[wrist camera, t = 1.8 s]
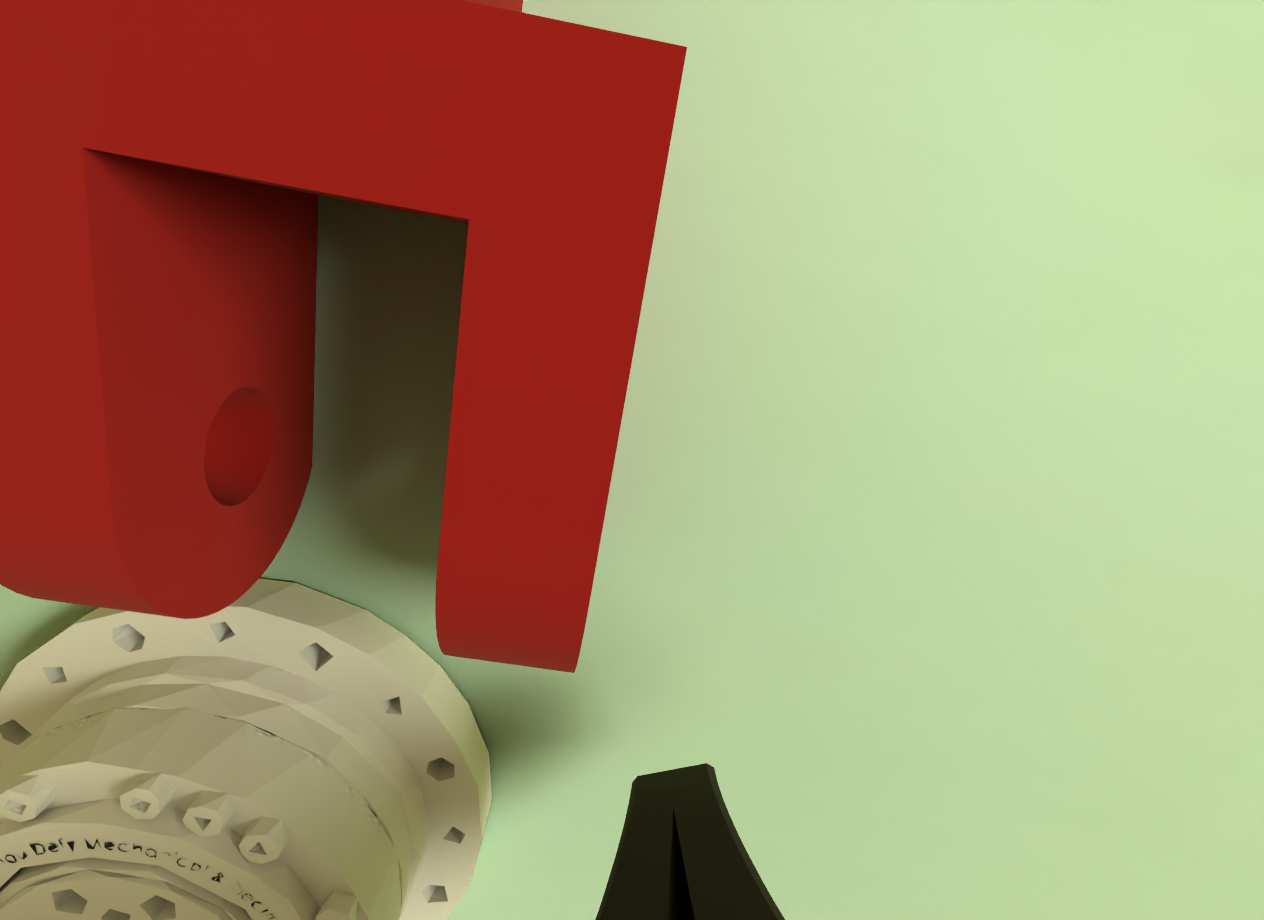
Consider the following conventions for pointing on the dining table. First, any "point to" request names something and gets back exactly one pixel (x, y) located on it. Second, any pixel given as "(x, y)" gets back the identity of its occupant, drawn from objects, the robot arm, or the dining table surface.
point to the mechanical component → (238, 769)
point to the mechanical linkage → (312, 286)
